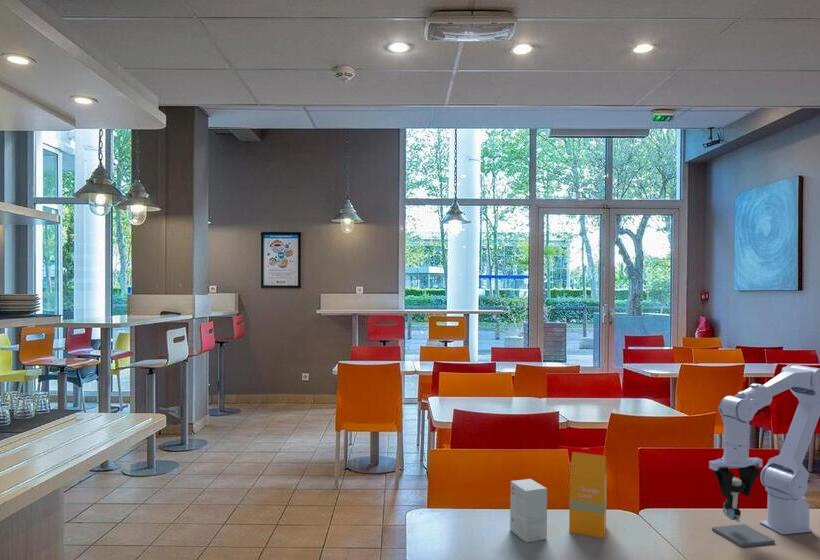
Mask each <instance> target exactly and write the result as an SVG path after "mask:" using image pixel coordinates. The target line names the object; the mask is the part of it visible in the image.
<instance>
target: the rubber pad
mask: <svg viewBox="0 0 820 560" xmlns="http://www.w3.org/2000/svg"><path fill="white" fill-rule="evenodd" d="M711 530H712V531H713V532H715V533H716V534H718V535H719V536H721V537H723V538H724V539H727V541H730V542H732V543H733V544H735V545H737V546H738V547H740V548H743V547H745V548H747V547H753V546H754V547H755V546H762V545H763V546H764V545H765V546H766V545H772V544H773V545H774V544H775V542H776V541H775V539H773V538H771V537H770V536H768V535H766V534H764V533H763V532H760V531H758V530H756V529H754V528H752V527H751V526H749V525H746V524H743V523H742V524H733V525H732V524H731V525H722V526H713V527H711Z"/></svg>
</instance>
